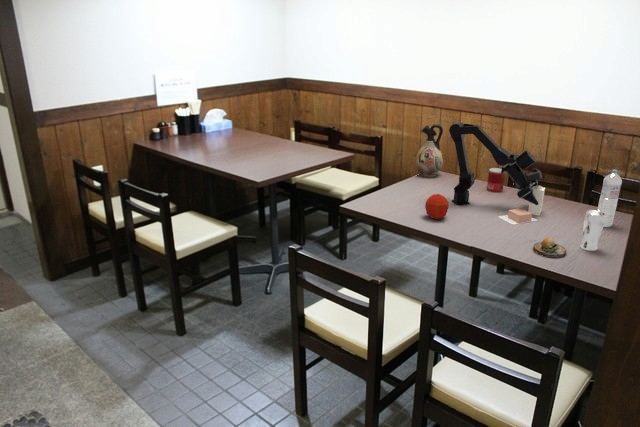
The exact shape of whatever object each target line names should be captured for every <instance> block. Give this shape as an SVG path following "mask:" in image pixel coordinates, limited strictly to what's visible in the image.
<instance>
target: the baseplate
mask: <svg viewBox="0 0 640 427" xmlns="http://www.w3.org/2000/svg"><path fill="white" fill-rule="evenodd" d="M497 218H498V219H501V220H503V221H505V222H507V223H508V224H511V225H517V224H518V225H519V224H523V223H524V224H525V223H530V222H536V221H537V222H538V219H537V218H534V217H533V216H532V219H531V221H527V222H521V223H517V222H515V221H514V220H512V219H510V218H508V214H506V215H504V214H503V215H498V216H497Z"/></svg>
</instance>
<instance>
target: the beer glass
mask: <svg viewBox="0 0 640 427" xmlns="http://www.w3.org/2000/svg"><path fill="white" fill-rule="evenodd" d="M605 215H606V214H605V213H604V212H602V211H598V209H588V210H586V213H585V215H584V220H583V226H582V227H583V228H582V229H583V231H582V232H583V233H582V234H583V235H582V240H581V242H580V243H581V244H580V245H579V247H580V248H581V249H582V250H583V251H588V252H595V251H597V250H598V242H599V239H600V236H601V234H602V232H603V229H604V227H603V226H604V222H605Z"/></svg>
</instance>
